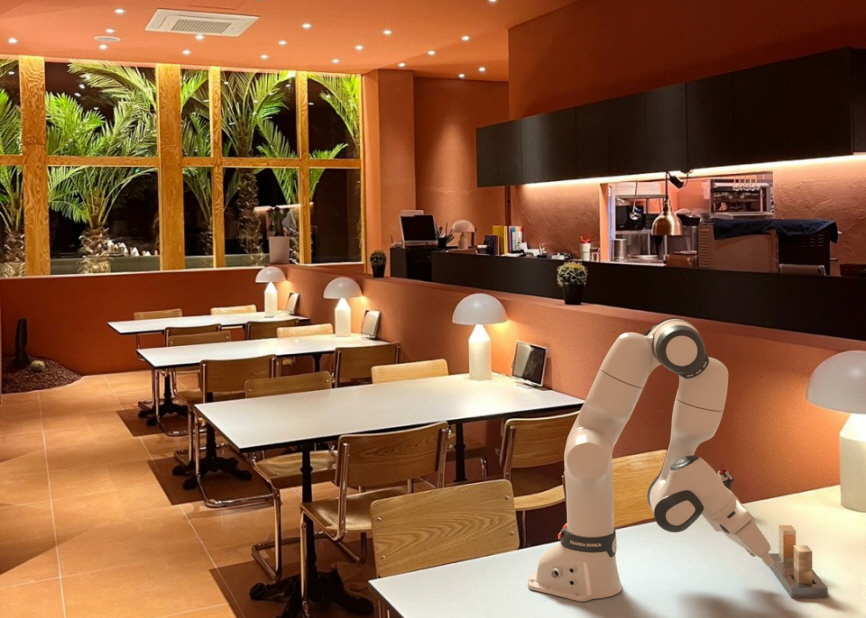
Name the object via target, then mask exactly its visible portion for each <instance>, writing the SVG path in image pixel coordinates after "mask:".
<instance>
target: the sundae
mask: <svg viewBox="0 0 866 618" xmlns="http://www.w3.org/2000/svg"><path fill="white" fill-rule="evenodd" d="M716 473H717V474H718V475H719V477H720V478H721V480H722V482H723V484H724V485H725V487H726V488H728V489H729V490H730V491H732V489H731V488H732V483H733V482H734V481H735V477H734V476H731V472H729V471H728V470H727V468H726V467H724V464H723V463H722V464H721V467H720V470H718V471H717V472H716Z"/></svg>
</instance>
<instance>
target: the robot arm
mask: <svg viewBox="0 0 866 618" xmlns="http://www.w3.org/2000/svg"><path fill="white" fill-rule="evenodd" d="M659 366H663V367H664V368H665V369H667V370H669V371H670V372H673V373H674V374H676V375H678V379H679V381H678V388H677V392H676V395H675V399H674V400H675V401H674V402H673V403H674V404H673V409H672V417H671V431H670V440H669V443H668V447H667V449H666V453H665V457H664V460H663V464H662V467H661V470H660V471H659V473H658V474H657V476H656V477H655V478H654V479H653V481H652V482H651V483H650V485H649V487H648V489H647V494H646V496H647V502H648V506H650V508H651V512H652V514H653V517H654V520H655V522H656V524H657V526H659V527H660V528H661V529H662V530H664V531H666V532H668V533H675V534H676V533H680V532H684V531H685V530H687V529H689V527H691V526H692V525H693V524H694V523H695V522H696V521H697V520H698V518H699V517H700V516H702V517H703V518H704V519H705V520H706V522H707V523H708V525H710V526H711V527H712V529H713V530H714V531H715V532H719V533H720V532H722V533H723V534H725V535H726V537H727V538H728V539H729V540H731V541H732V542H734V543H735V544H737V545H739V546H740V547H742V548H743V549H744V550H745V551H746V552H747V553H748V554H749V555H750V556H751V557H754V558H755V557H758V558H760V559H761V560H762V562H763V563H764V564H765V566H767V567H768V568H770V567H771V566H772V565H773V564H774V563H775V562H774V560H773V559H772V558H771V557H770V555H769V552H770V551H771V549H772V547H771V545H770V543H769V541H768V539H767V538H766V537H765V535H764V534H763V532H762V531H761V530H760V528H759V527H758V526H757V524H756V523H755V521H754V520H753V518H754V517H753V515H752V514H751V513H750V512H749V510H748V509H747V508H746V507H745V506H744V505H743V503H742V502H741V501H740V500H739V498H738V497H737V496H736V495H735V494H734V493H733V491H732V490H731V491H730V490H729V489H728V488H726V487H725V485H724V484H723V482H722V480H721V478H720V477H719V475H718V474H717V473H718V472H716V471H715V470H714V468H713V467H711V465H710V464H708V462H707V461H706V460H704V458H702V457H700V456H698V455H695V452H696V450H697V448H698V447H699V446H700V444H702V443H704V442H706V441H709V440H711V439H712V438H713V437H714V436H715V434H716V433H717V430H718V428H719V426H720V424H721V421H722V418H723V414H724V410H725V405H726V402H727V401H726V400H727V394H728V386H729V371H728V370H729V369H728V368H727V366H726V365H725V364H724V363H723V362H721V361H720V360H718V359H717V358H714V357H711V356H709V355H708V352H707V350H706V346H705V342H704V339H703V338H702V336H701V334H700V333H699V330H698V329H697V328H696V327H695V326H694V325H692V323H690V322H689V321H687V320H684V319H682V318H679V317H668V318H665V319H663V320H661V321H659V322H658V323H657V324H655V325H654V326H653V327H651V328H650V329H649V330H647V331H646V332H644V333H643V334H642V333H639V332H638V333H637V332H631V331H630V332H624V333H622V334H620V335H619V336H618V337H617V338H616V340H615V341H614V343H613V344H612V346H611V347H610V348H609V350H608V352H607V353H606V355H605V357H604V359H603V361H602V363H601V365H600V367H599V369H598V372H597V374H596V377H595V378H594V380H593V383H592V385H591V387H590V389H589V392H588V394H587V396H586V398H585V400H584V402H583V404H582V406H581V408H580V410H579V412H578V414H577V417H576V419H575V421H574V423H573V425H572V427H571V429H570V431H569V434H568V436H567V439H566V444H565V448H564V454H563V458H564V463H563V465H564V479H565V480H564V482H565V495H566V523H565V524H564V525H563V526H562V529H561V530H560V531H559V533H558V534H557V537H558V538H557V540H559V541H560V542H558V543H557V544H556V545H554V546H553V547H551V548H550V549H548V550H547V551H546V552H545V553H544V554H543V555H542V556H541V557H540V559H539V561H538V563H537V564H538V565H537V569H536V570H535V571H533V573H532V574H531V575H530V576H529V577H528V581H527V587H528V589H530V590H532V591H535V592H540V593H544V594H548V595H552V596H553V595H554V596H557V597H561V598H565V599H568V600H572V601H576V602H577V601H578V602H588V601H591V600H594V599H596V600H597V599H604V598H610V597H613V596H615V595H617V594H619V593H620V592H621V591H622V589H623V585H622V582H621V579H620V575H619V571H618V565H617V558H616V554H617V546H618V545H617V540H618V539H617V536H616V535H617V533H616V532H617V531H616V529H615V528H614V527H615V525H614V524H615V523H614V521H615V519H614V518H615V517H614V481H613V480H614V479H613V477H614V476H613V475H614V474H613V451H614V448H615V445H616V443H617V442H618V440H619V437H620V436H621V434H622V432H623V430H624V429H625V426H626V425H627V423H628V421H629V420H630V418H631V416H632V415H633V412H634V410H635V407H636V405H637V404H638V401H639V399H640V397H641V394H642V393H643V390H644V388H645V385H646V383H647V381H648V379H649V376H650V375H651V373H652V372H653V371H654V369H656V368H657V367H659Z"/></svg>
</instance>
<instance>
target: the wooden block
mask: <svg viewBox="0 0 866 618" xmlns="http://www.w3.org/2000/svg"><path fill="white" fill-rule="evenodd" d="M812 569H813V551H812V550H811V548H810V547H809V546H808V545H803V544H802V545H797V544H796V545H794V581H795V583H796V584H812Z"/></svg>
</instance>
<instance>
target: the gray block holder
mask: <svg viewBox="0 0 866 618" xmlns="http://www.w3.org/2000/svg"><path fill="white" fill-rule="evenodd" d="M794 545H797V530H796V529H795V527H793V526H792V525H791V524H790V525H789V524H787V525H785V524H779V525H778V553H776V552H775V553H771V552H770V553H769V552H768V553H769V555H770V557H771V558H772V559H773V560H774V562H775V563H774V564H773V565H772V566H771V567H769V568H770V570H771V571H772V572H773V574H774V576H775V577H776V579H777V580H778V581H779V583H780V584H781V586H782V587H783V588H784V590H785V591H786V593H787V594H788V596H789V595H790V596H789V597H790V598H791V599H817V598H828V599H829V597H828V595H829V588H828V586H827V585H826V584H825V583H824V582H823V580H822V579H821V578H820V577H819V575H818V574H817V573H816V572H815V570H814V569H813V568H812V584H796V583H795V581H794Z"/></svg>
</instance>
